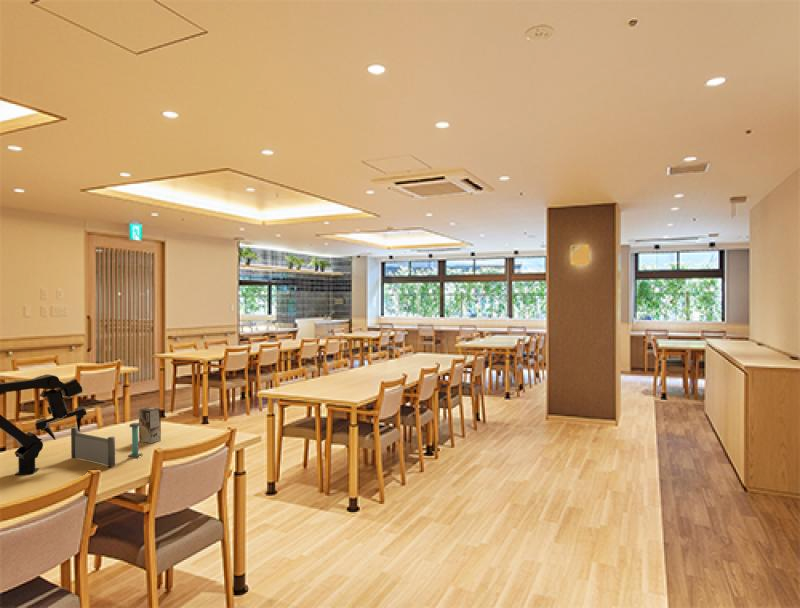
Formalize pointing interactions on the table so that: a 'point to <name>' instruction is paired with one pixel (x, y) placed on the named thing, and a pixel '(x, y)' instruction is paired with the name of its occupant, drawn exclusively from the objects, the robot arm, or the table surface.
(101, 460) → the gate
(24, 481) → the table surface
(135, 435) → the post
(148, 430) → the coffee box
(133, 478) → the table surface
